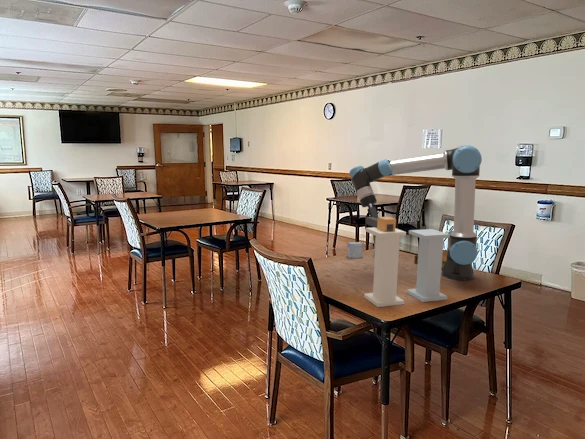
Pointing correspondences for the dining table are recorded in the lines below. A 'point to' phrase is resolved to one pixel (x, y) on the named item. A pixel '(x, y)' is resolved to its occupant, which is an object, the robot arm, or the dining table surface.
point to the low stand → (429, 265)
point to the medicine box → (354, 250)
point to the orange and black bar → (382, 223)
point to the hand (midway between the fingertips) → (383, 238)
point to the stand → (385, 268)
